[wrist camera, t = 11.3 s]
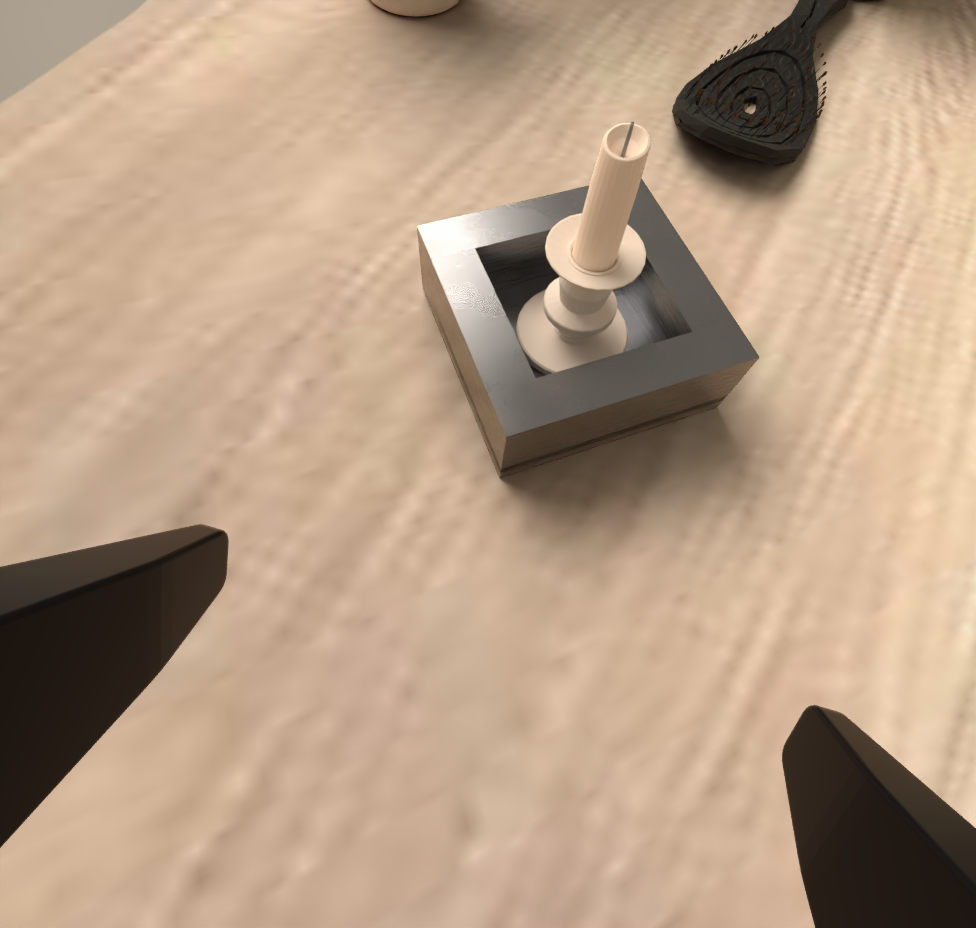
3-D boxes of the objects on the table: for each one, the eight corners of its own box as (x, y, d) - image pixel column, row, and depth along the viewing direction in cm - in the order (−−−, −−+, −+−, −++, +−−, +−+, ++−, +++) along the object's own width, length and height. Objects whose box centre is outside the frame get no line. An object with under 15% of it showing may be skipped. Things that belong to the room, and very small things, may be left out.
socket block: (717, 406, 26) (759, 357, 22) (499, 478, 24) (506, 436, 20) (616, 238, 30) (638, 174, 26) (423, 288, 28) (416, 225, 24)
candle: (593, 402, 25) (675, 210, 15) (494, 347, 26) (513, 134, 16) (644, 324, 26) (745, 109, 17) (550, 276, 27) (596, 47, 18)
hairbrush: (911, -37, 38) (805, 147, 28) (875, 24, 42) (768, 209, 31) (798, -75, 40) (659, 86, 30) (771, -13, 43) (638, 151, 33)
